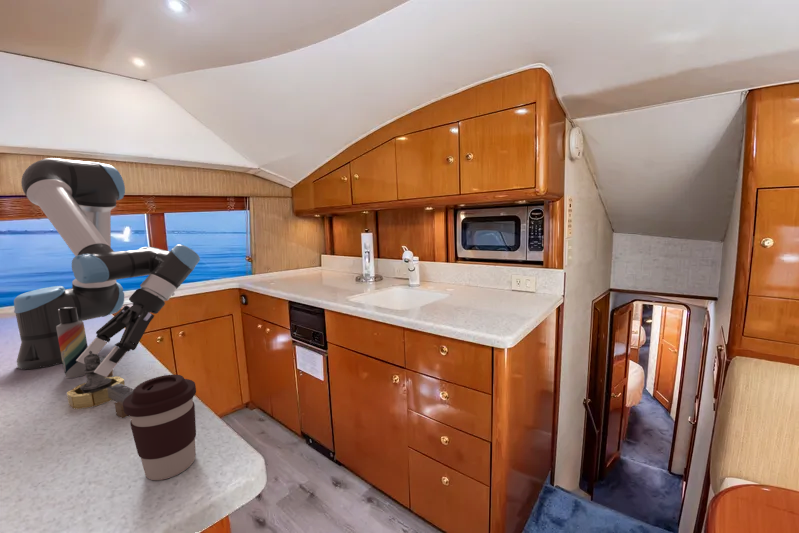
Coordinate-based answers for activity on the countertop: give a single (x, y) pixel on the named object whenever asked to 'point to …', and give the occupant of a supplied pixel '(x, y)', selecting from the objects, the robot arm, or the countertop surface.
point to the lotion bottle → (71, 341)
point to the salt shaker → (93, 375)
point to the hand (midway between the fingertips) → (90, 368)
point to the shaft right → (119, 397)
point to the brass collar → (90, 395)
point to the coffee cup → (163, 424)
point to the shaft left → (100, 363)
